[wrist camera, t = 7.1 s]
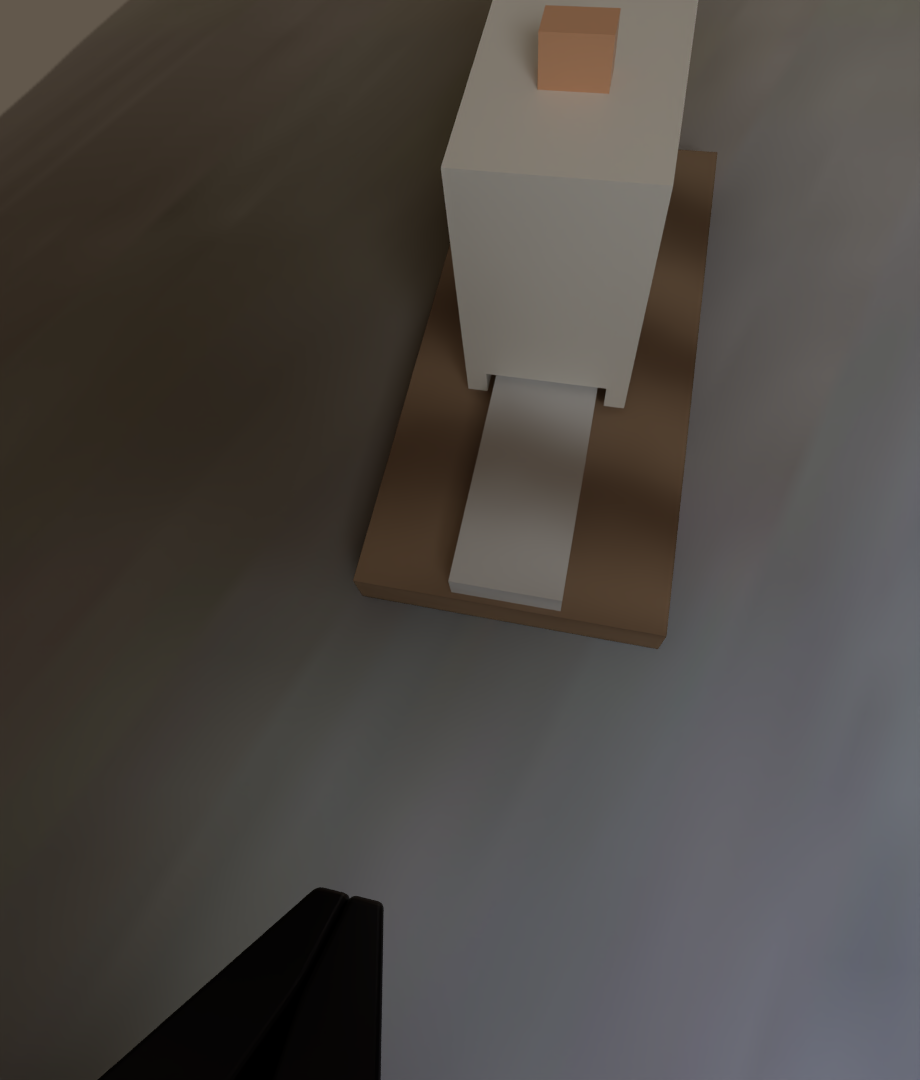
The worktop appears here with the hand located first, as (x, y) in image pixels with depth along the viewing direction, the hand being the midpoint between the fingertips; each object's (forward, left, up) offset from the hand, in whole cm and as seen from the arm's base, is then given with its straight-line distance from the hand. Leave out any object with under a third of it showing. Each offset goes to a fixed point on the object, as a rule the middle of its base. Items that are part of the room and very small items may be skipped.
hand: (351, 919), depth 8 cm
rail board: (+16, -9, -13) cm, 23 cm away
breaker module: (+17, -10, -12) cm, 22 cm away
